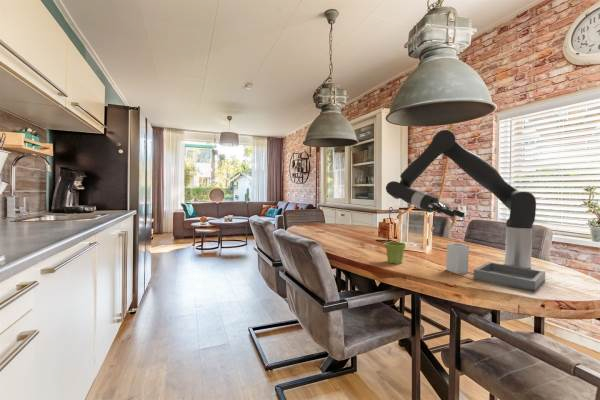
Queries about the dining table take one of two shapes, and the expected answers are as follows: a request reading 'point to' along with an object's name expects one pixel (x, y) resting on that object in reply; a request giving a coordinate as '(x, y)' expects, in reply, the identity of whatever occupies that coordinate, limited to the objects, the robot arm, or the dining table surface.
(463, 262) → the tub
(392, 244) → the plant pot
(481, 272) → the tray
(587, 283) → the dining table surface
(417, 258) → the dining table surface
